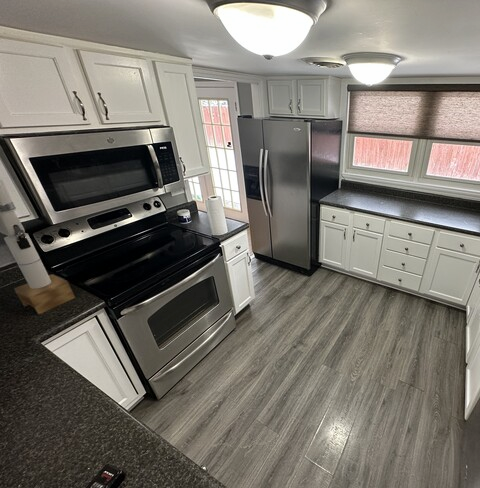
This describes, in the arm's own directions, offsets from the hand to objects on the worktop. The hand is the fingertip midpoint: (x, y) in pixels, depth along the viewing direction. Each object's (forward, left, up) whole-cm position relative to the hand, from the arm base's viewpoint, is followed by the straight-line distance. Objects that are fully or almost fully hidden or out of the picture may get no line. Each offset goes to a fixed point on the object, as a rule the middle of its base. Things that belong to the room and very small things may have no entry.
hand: (21, 246), depth 116 cm
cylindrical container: (0, 0, -20) cm, 20 cm away
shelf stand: (0, 0, -30) cm, 30 cm away
